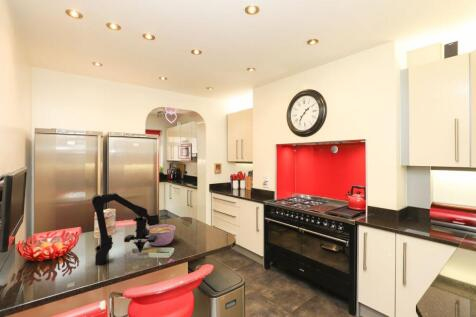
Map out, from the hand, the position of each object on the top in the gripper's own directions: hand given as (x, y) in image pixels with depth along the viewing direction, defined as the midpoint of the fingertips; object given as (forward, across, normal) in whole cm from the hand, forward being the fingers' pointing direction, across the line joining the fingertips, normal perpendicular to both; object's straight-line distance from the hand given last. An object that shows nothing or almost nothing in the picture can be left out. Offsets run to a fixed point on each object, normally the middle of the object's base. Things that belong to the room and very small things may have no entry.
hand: (140, 252), depth 143 cm
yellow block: (+1, -7, 0) cm, 7 cm away
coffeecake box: (+2, +44, -37) cm, 57 cm away
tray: (+2, -13, 0) cm, 13 cm away
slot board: (+2, 0, 0) cm, 2 cm away
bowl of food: (+2, -6, -18) cm, 20 cm away
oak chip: (+1, -3, 0) cm, 3 cm away
